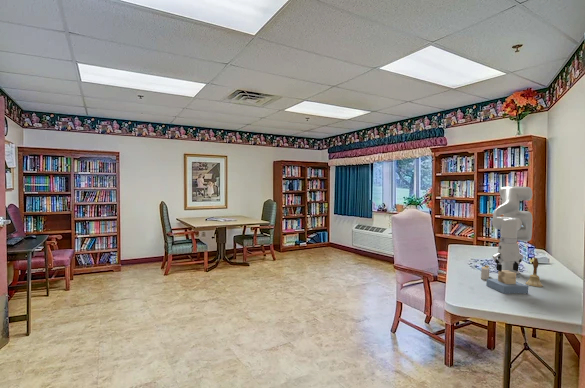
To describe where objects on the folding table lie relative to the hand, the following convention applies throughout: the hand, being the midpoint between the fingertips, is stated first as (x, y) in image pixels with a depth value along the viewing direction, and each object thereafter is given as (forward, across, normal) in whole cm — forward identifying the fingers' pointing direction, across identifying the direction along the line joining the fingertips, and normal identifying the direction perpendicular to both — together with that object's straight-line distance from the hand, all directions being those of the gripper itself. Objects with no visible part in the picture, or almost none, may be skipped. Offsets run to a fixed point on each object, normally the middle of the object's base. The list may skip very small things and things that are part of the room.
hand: (507, 270), depth 183 cm
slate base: (+10, 0, -1) cm, 10 cm away
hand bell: (+11, +24, +8) cm, 27 cm away
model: (+12, +3, +23) cm, 26 cm away
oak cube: (+6, 0, 0) cm, 6 cm away
